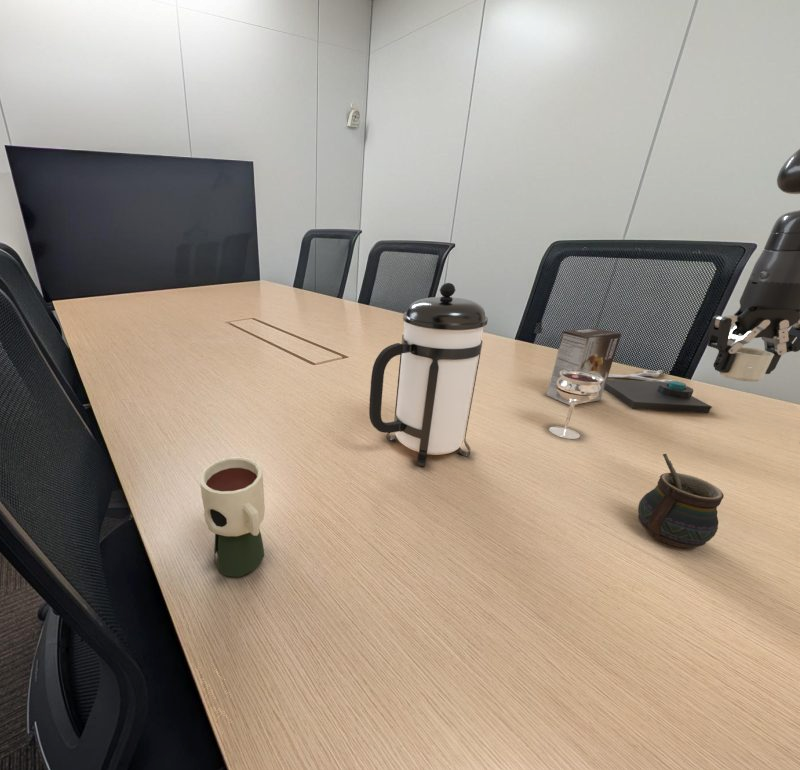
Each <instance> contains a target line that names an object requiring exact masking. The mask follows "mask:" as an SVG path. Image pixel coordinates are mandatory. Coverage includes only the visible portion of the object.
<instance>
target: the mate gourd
mask: <svg viewBox="0 0 800 770" xmlns="http://www.w3.org/2000/svg"><path fill="white" fill-rule="evenodd" d="M662 456H663V458H664V461H665V463H666V466H667V468H668V471H669V472H665V473H662V474H661V475H660V476H659V479H658V481H657V485H656V486H655V487H654V488H653V489H652V490H650V491H648V492H646V493H645V494H644V495H643V496H642V497H641V499H640V501H639V502H638V508H637V513H638V515H637V519H638V521H639V523H640V524H641V526H642V527H643V529H645V530H646V532H647V533H649V534H650V535H651V537H654V538H655V540H658V541H659V542H662V543H665V544H667V545H670V546H673V547H678V548H686V549H687V548H689V549H690V548H691V549H692V548H699V547H703V546H705V544H707V543H708V542H710V540H711V539H713V538H714V537H715V536H716V534H717V532H718V530H719V518H718V507H719V506H720V505H721V503H722V501H723V499H724V496H725V495H724V492H723V491H722V490H721V489H720V488H718V487H717V486H716V485H714V484H712V483H711V482H709V481H707V480H705V479H702V478H699V477H696V476H693V475H690V474H685V473H680V472H677V471H676V469H675V467H674V465H673V463H672V461H671V460H670V459H669V457H668V455H667V453H662Z"/></svg>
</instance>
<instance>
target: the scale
mask: <svg viewBox="0 0 800 770" xmlns="http://www.w3.org/2000/svg"><path fill="white" fill-rule="evenodd" d="M668 386H669V383H666V382H654V381H645V380H634V379H613V378H612V379H611V378H607V381H606V384H605V387H604V390H605V391H607V392H608V393H609V394H611V395H613V396H614V397H615V398H617V399H619V400H620V401H621V402H623V403H624V404H625V405H627V406H628V407H629V408H630V409H635V410H652V411H668V412H669V411H670V412H685V413H699V414H701V413H702V414H709V413H710V411H711V409H712V406H711V405H710V404H708V403H706V402H704V401H702V400H701V399H698V398H697V397H695V396H693V394H694V388H692V387H690V386H688V385H686V386H685V388H684V390H678V389H673V388H670V387H668Z"/></svg>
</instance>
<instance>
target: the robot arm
mask: <svg viewBox="0 0 800 770" xmlns="http://www.w3.org/2000/svg"><path fill="white" fill-rule="evenodd" d="M776 185H777V188H778V189H779V190H780V191H781V192H782V193H783V192H784V193H785V194H789V195H800V148H799V149H798V150H796V151H795V152H794V153H793V154H792V155H791V156H789V158H787V160H786V161H785V162H784V163H783V165H782V166H781V168H780V169H779V170H778V174H777V177H776ZM739 305H740V306H739V309H738V310H736V312H735V313H733V314H731V315H724V316H723V315H719V314H716V315H714V316H712V318H711V324H710V329H709V335H708V338H707V347H710V348H713V349H716V350H717V351H718V353H717V356H716V358H715V360H714V362H713V368H714V370H715V371H717V372H718V373H720V372H721V373H728V372H729V370H730V368H731V366H732V364H733V361H734V359H735V357H736V355H737V354H734V353H736V352H737V351H738V350H739V349H740V348H741V347H743V346H744V345H746V344H749V343H751V341H752V340H753V339H759V338H761V340H762V341H763V343H764V350H765V351H768V352H772V353H773V354H775V355H774V357H773V359H772V361H771V363H770V365H769V367H768V369H767V371H766V373H765V375H769V374H771V373H772V372H773V371H774V370H775V369H776V367H777V365H778V363H779V361H780V359H781V357H782V356H783V355H785V354H786V353H790V352H793V353H797V352H800V209H798V210H794V211H793V210H792V211H789V212H785V213H783V214H781V215H780V216H779V217H778V218H777V219H776V220H775V222H774V224H773V226H772V229H771V231H770V233H769V235H768V238H767V240H766V243H765V245H764V247H763V250H762V252H761V254H760V255H759V257H758V258H757V260H756V262H755V264H754V266H753V268H752V271H751V272H750V275H749V278H748V279H747V282H746V284H745V287H744V289H743V292H742V294H741V297H740V298H739ZM731 328H732V329H731Z"/></svg>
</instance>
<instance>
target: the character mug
mask: <svg viewBox="0 0 800 770" xmlns="http://www.w3.org/2000/svg"><path fill="white" fill-rule="evenodd" d="M263 474H264V473H263V469H262V467H261V465H260V464H259V463H258V462H257V461H256V460H253V459H251V458H248V457H244V456H243V457H242V456H232V457H231V456H228V457H225V458H220V459H217V460H216V461H214V462H211V463H210V464H208V465H207V466H206V467H205V468H204V470H202V472H201V474H200V476H199V484H200V494H201V499H202V504H203V506H202V507H203V510H204V511H203V512H204V513H203V514H204V515H203V516H204V521H205V524H206V526H207V528H208V530H209V531H210V532H211V533H213V534H214V549H213V552H214V554H213V555H214V556H213V557H214V558H213V563H214V565H218V566H217V567H218V571H219V573H221V574H224V575H225V576H228V577H238V578H239V577H242V576H244V575H247V574H249V573H251V572H253V571H254V570H255V569H256V568H258V567H259V566H260V565H261V563H262V562H263V559H264V558H265V547H264V543H263V538H262V533H261V529H260V525H261V523H263V520H264V519H265V511H266V510H265V509H266V506H265V489H264V475H263ZM216 554H217V564H216Z"/></svg>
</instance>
